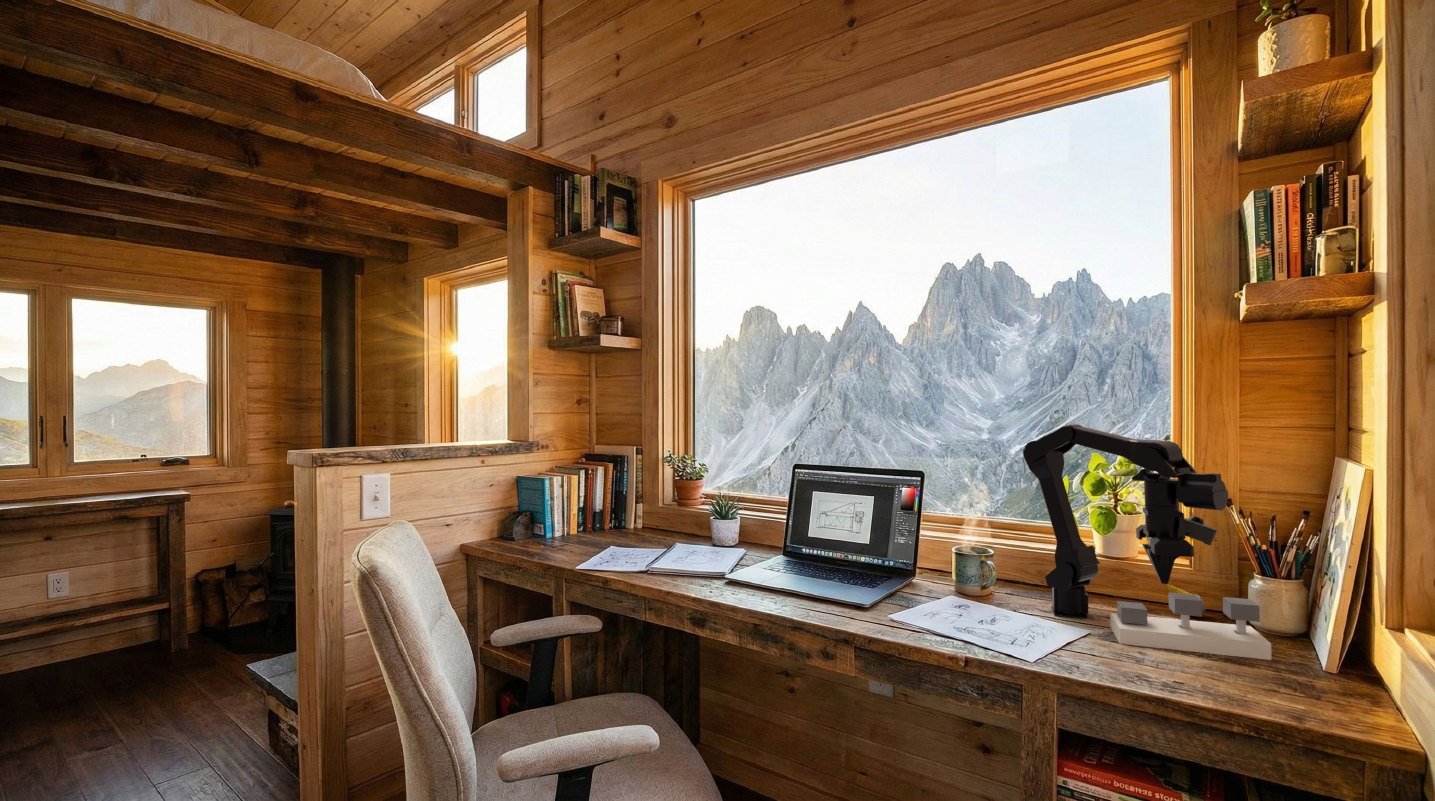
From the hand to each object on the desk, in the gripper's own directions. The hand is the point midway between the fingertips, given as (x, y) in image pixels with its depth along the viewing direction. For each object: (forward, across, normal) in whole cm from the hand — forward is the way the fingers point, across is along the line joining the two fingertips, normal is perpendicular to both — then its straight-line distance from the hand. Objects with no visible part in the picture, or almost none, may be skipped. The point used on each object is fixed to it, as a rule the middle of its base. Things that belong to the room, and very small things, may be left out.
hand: (1164, 583), depth 131 cm
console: (+11, +1, -3) cm, 12 cm away
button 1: (+11, 0, +6) cm, 13 cm away
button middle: (+9, +1, -3) cm, 10 cm away
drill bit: (+12, +20, -8) cm, 24 cm away
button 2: (+9, +1, -12) cm, 15 cm away
